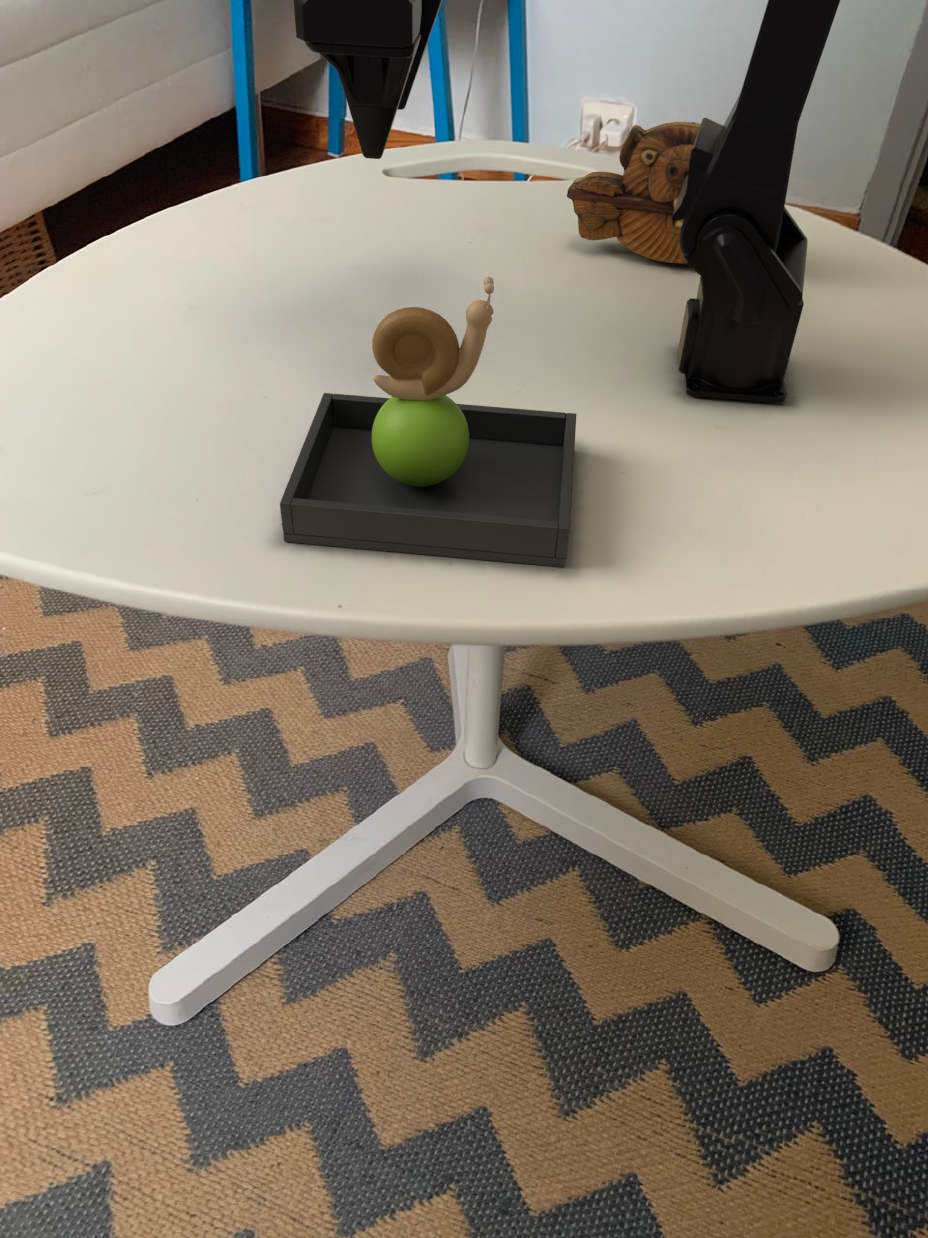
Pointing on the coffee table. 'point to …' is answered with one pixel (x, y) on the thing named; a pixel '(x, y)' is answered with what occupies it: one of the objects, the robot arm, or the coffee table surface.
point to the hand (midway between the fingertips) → (385, 131)
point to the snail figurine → (425, 390)
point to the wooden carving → (639, 193)
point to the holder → (437, 488)
